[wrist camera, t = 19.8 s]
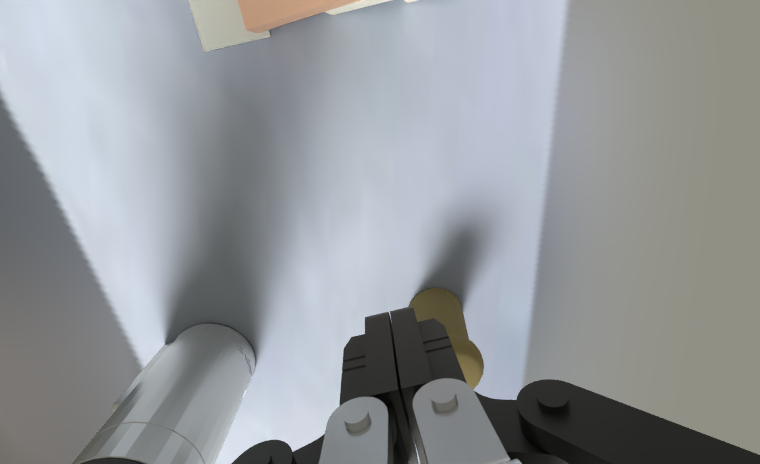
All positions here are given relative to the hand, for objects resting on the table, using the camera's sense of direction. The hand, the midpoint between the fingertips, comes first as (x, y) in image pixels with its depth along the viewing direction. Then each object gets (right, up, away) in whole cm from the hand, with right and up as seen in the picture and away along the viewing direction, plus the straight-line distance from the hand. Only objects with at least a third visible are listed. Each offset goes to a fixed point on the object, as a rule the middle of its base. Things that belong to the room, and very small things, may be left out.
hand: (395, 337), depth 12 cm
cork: (+6, -6, +31) cm, 32 cm away
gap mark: (-14, +23, +22) cm, 34 cm away
